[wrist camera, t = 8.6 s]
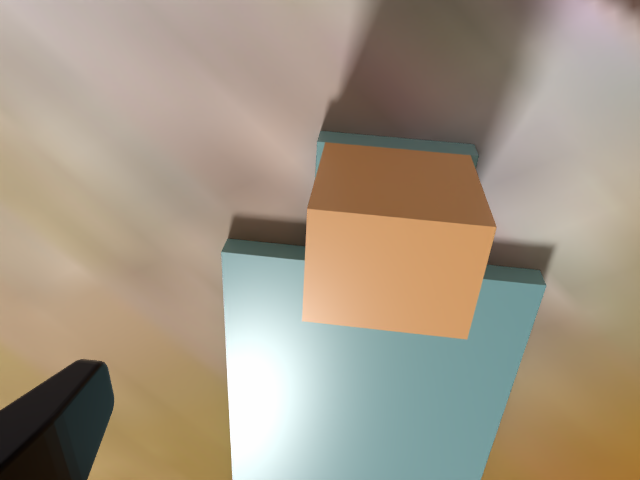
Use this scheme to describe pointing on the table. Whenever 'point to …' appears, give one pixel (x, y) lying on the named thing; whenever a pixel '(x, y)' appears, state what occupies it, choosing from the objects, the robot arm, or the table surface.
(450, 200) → the lid
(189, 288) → the table surface
